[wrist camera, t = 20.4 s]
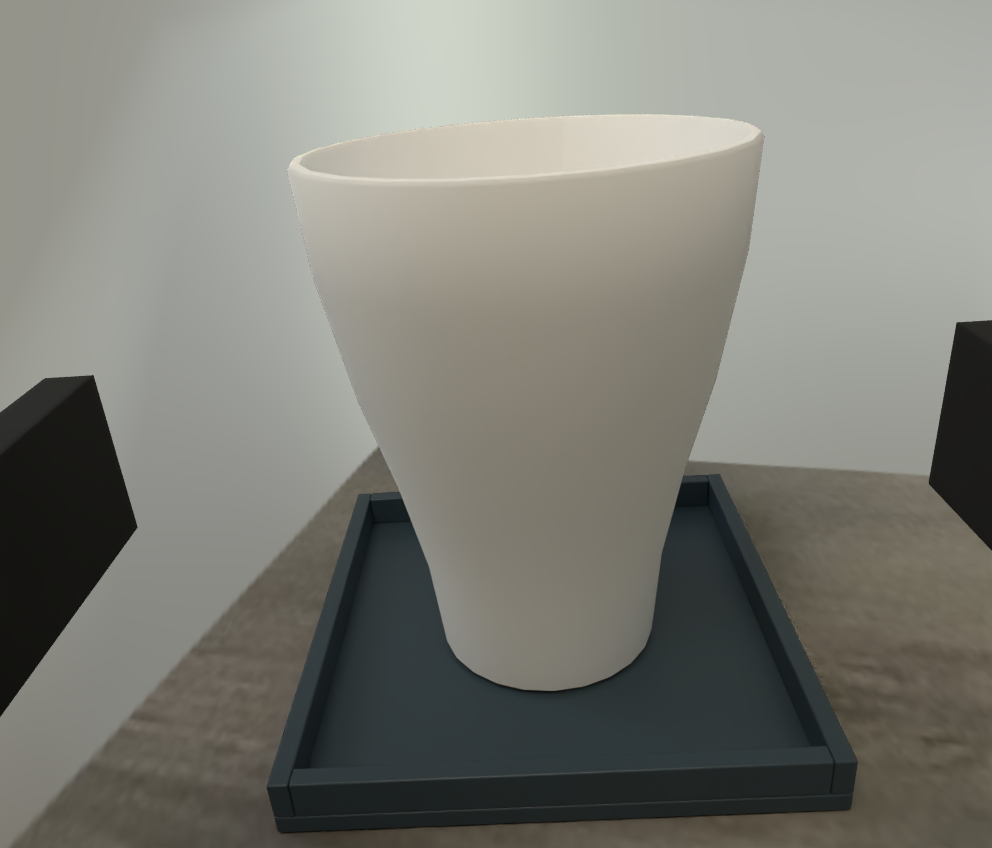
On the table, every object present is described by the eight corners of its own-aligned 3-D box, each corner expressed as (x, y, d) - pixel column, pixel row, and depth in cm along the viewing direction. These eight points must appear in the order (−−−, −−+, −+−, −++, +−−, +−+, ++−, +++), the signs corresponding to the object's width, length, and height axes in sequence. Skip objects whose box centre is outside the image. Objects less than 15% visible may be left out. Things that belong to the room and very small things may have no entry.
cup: (305, 727, 22) (186, 188, 16) (435, 514, 31) (389, 123, 25) (730, 793, 19) (772, 171, 13) (734, 538, 28) (760, 105, 22)
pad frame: (277, 833, 19) (265, 786, 19) (363, 529, 31) (358, 493, 30) (851, 810, 19) (859, 761, 18) (718, 509, 31) (719, 473, 30)
